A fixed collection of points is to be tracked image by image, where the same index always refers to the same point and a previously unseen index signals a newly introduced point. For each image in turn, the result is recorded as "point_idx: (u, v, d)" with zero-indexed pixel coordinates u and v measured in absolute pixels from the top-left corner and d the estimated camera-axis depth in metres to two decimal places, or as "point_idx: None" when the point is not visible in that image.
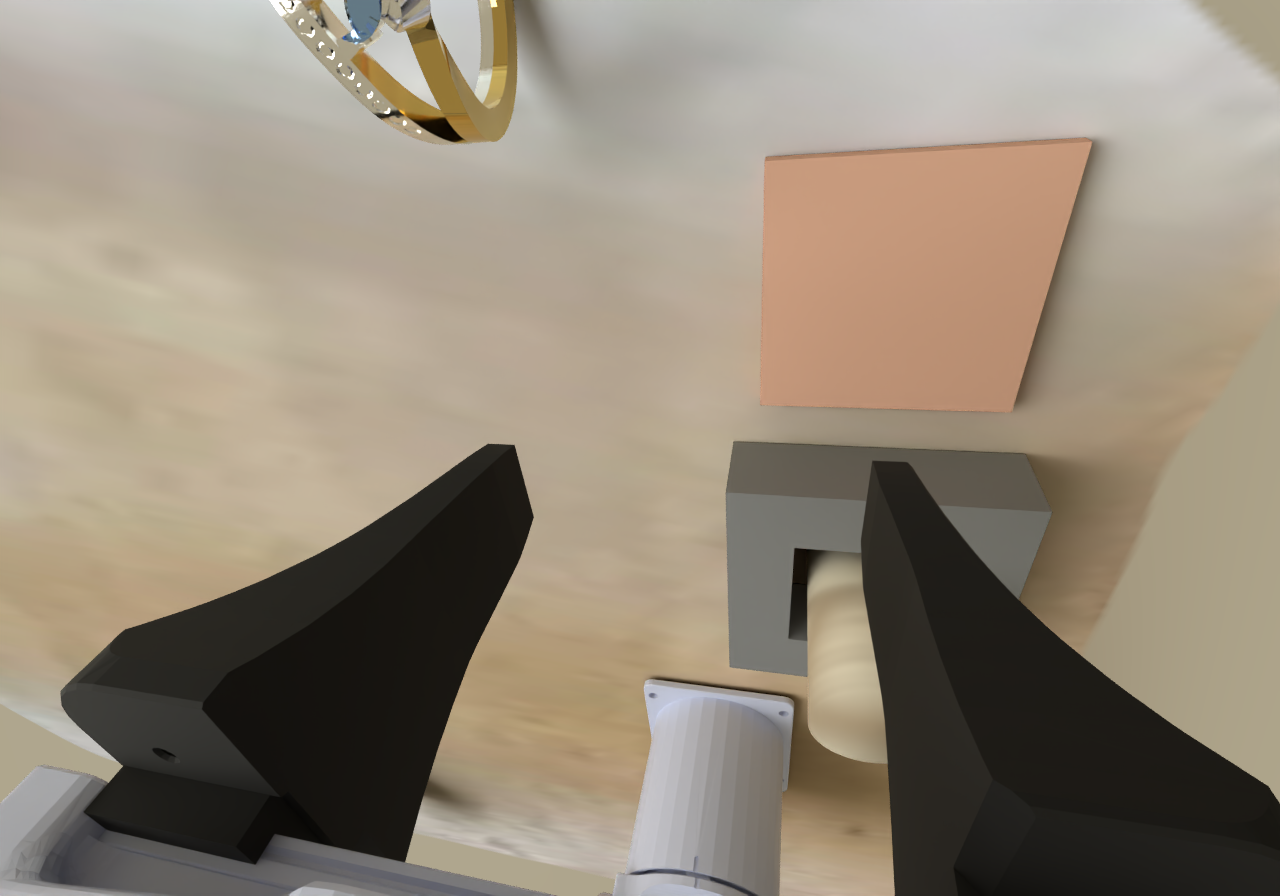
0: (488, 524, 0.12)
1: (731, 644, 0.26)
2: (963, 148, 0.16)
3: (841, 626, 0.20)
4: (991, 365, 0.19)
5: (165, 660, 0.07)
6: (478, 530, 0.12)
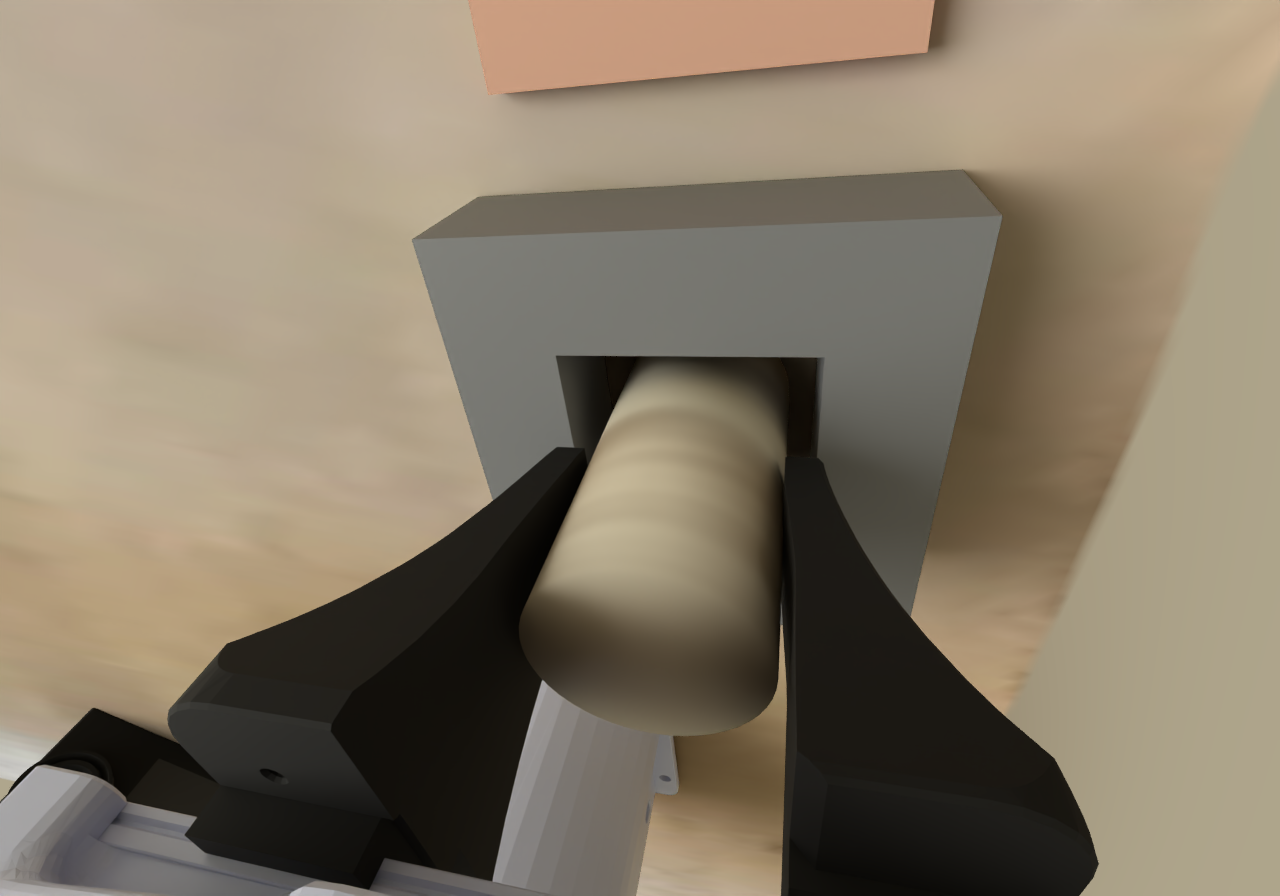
0: None
1: None
2: None
3: (604, 472, 0.11)
4: None
5: (281, 677, 0.07)
6: (554, 537, 0.11)
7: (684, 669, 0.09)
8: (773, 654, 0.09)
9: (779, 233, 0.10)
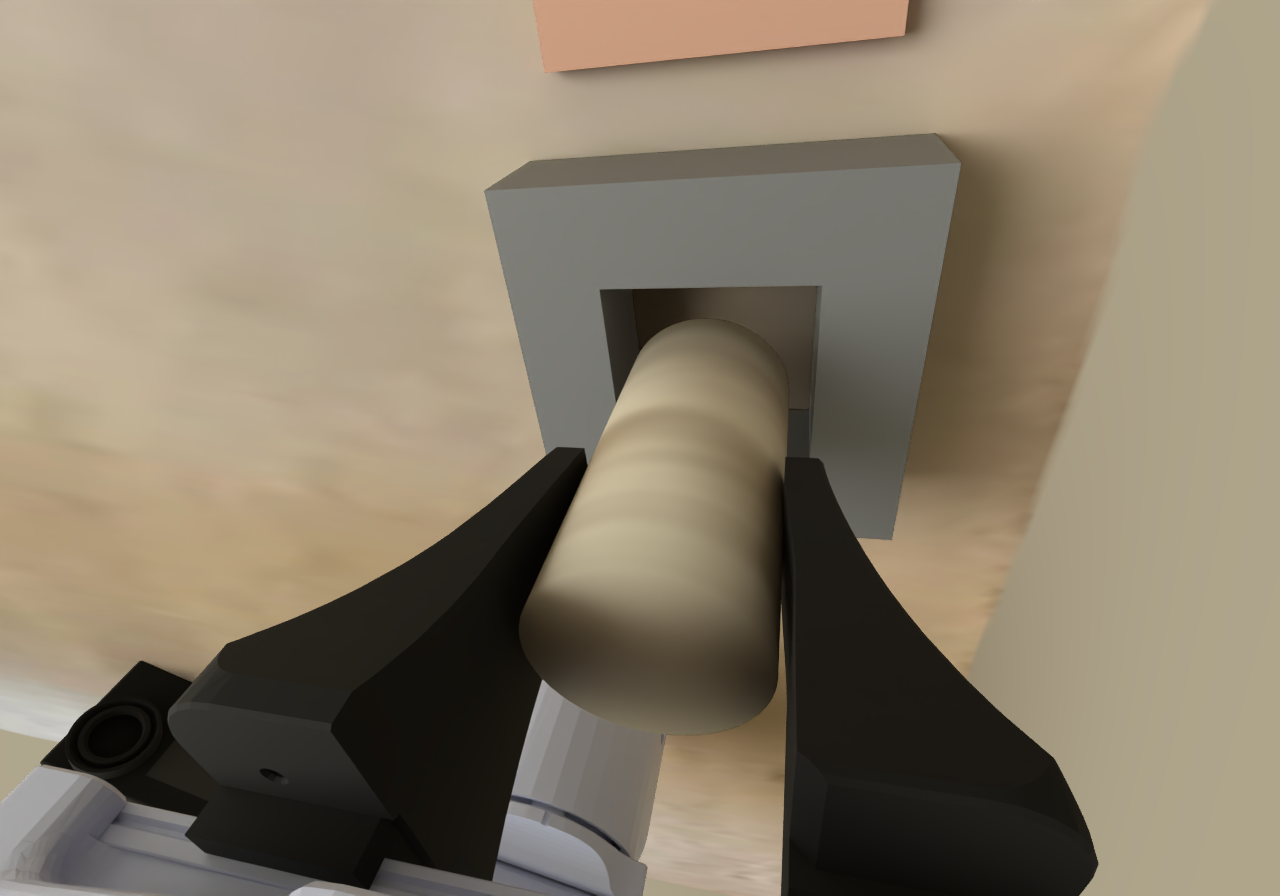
0: None
1: None
2: None
3: (604, 472, 0.11)
4: None
5: (281, 676, 0.07)
6: (554, 537, 0.11)
7: (684, 668, 0.09)
8: (773, 653, 0.09)
9: (786, 180, 0.13)
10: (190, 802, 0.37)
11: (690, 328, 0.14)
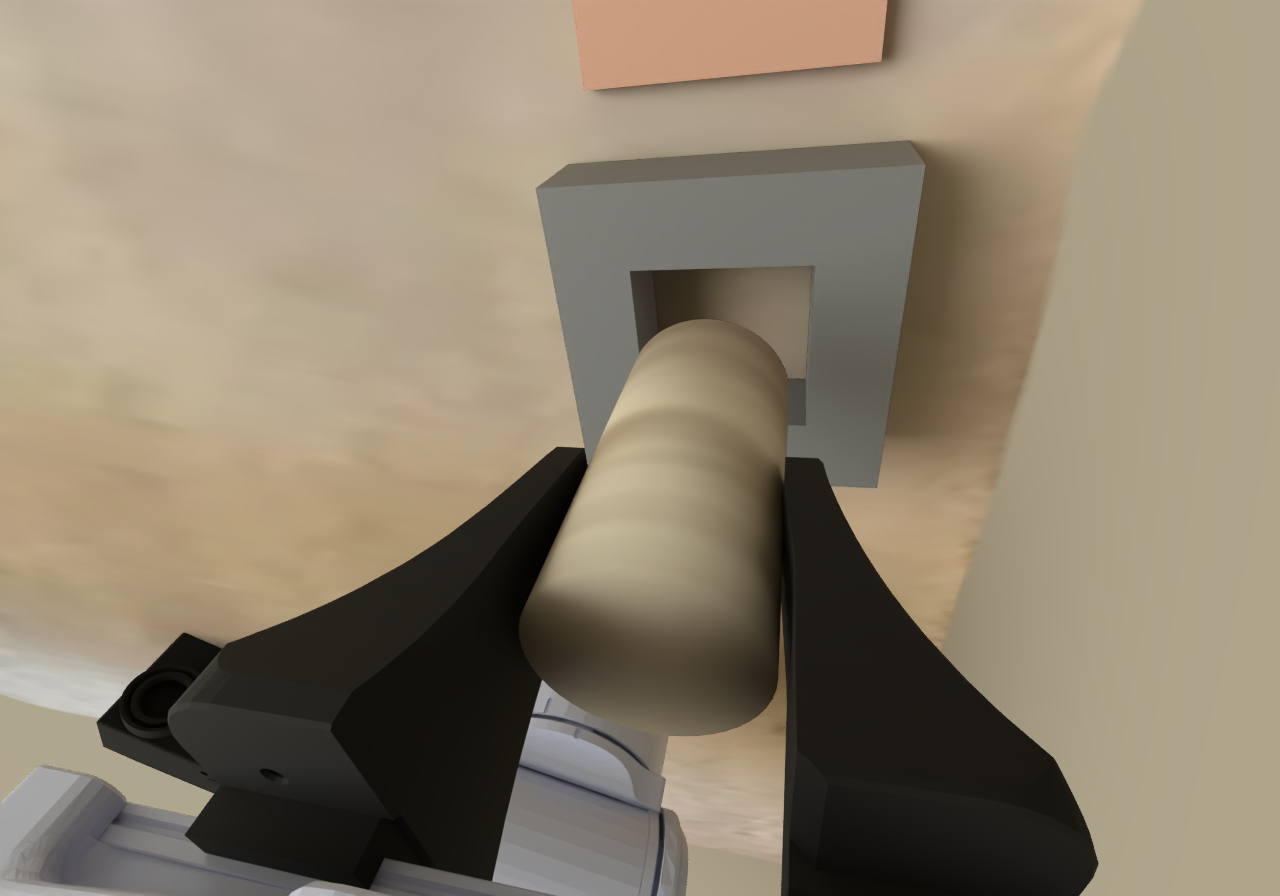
0: None
1: (585, 437, 0.22)
2: None
3: (604, 472, 0.11)
4: None
5: (281, 676, 0.07)
6: (554, 536, 0.11)
7: (684, 669, 0.09)
8: (773, 654, 0.09)
9: (785, 179, 0.16)
10: None
11: (690, 328, 0.14)
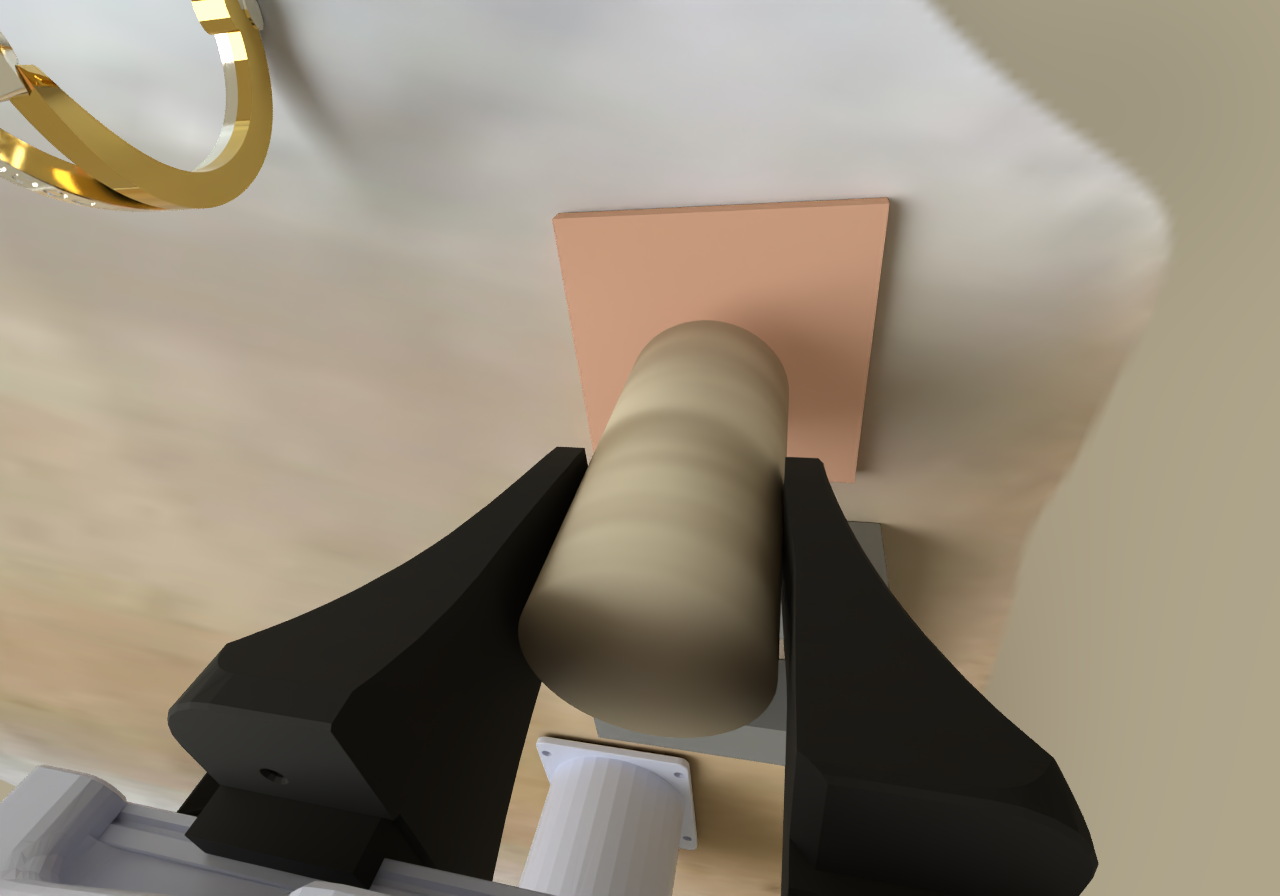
0: None
1: None
2: (756, 208, 0.15)
3: (603, 473, 0.11)
4: (825, 434, 0.18)
5: (280, 676, 0.07)
6: (555, 536, 0.11)
7: (683, 671, 0.09)
8: (773, 656, 0.09)
9: None
10: None
11: (690, 329, 0.14)
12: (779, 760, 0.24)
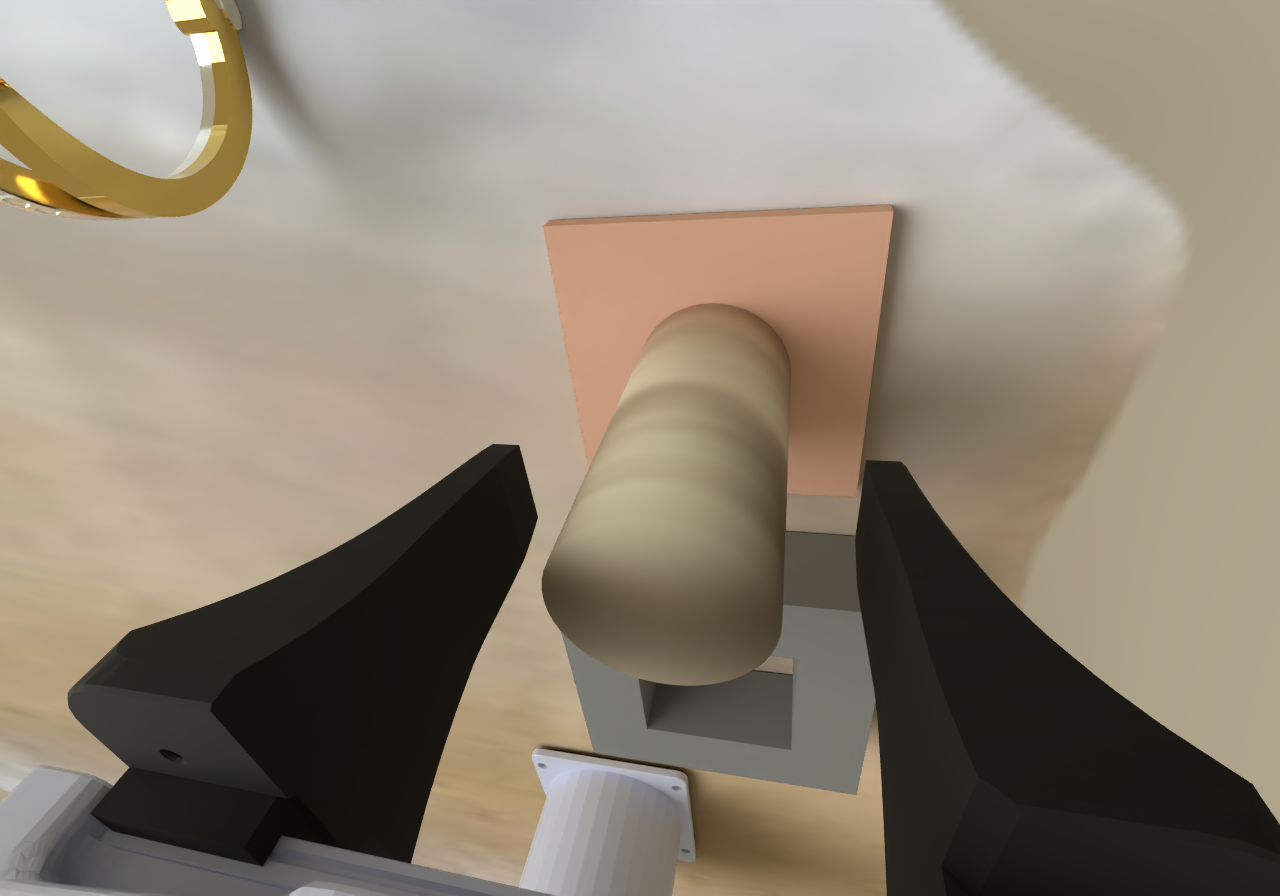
0: (493, 524, 0.12)
1: (590, 731, 0.24)
2: (755, 215, 0.14)
3: (619, 440, 0.11)
4: (826, 448, 0.17)
5: (172, 660, 0.07)
6: (483, 531, 0.12)
7: (695, 618, 0.10)
8: (778, 600, 0.09)
9: None
10: None
11: (698, 311, 0.15)
12: (779, 777, 0.23)
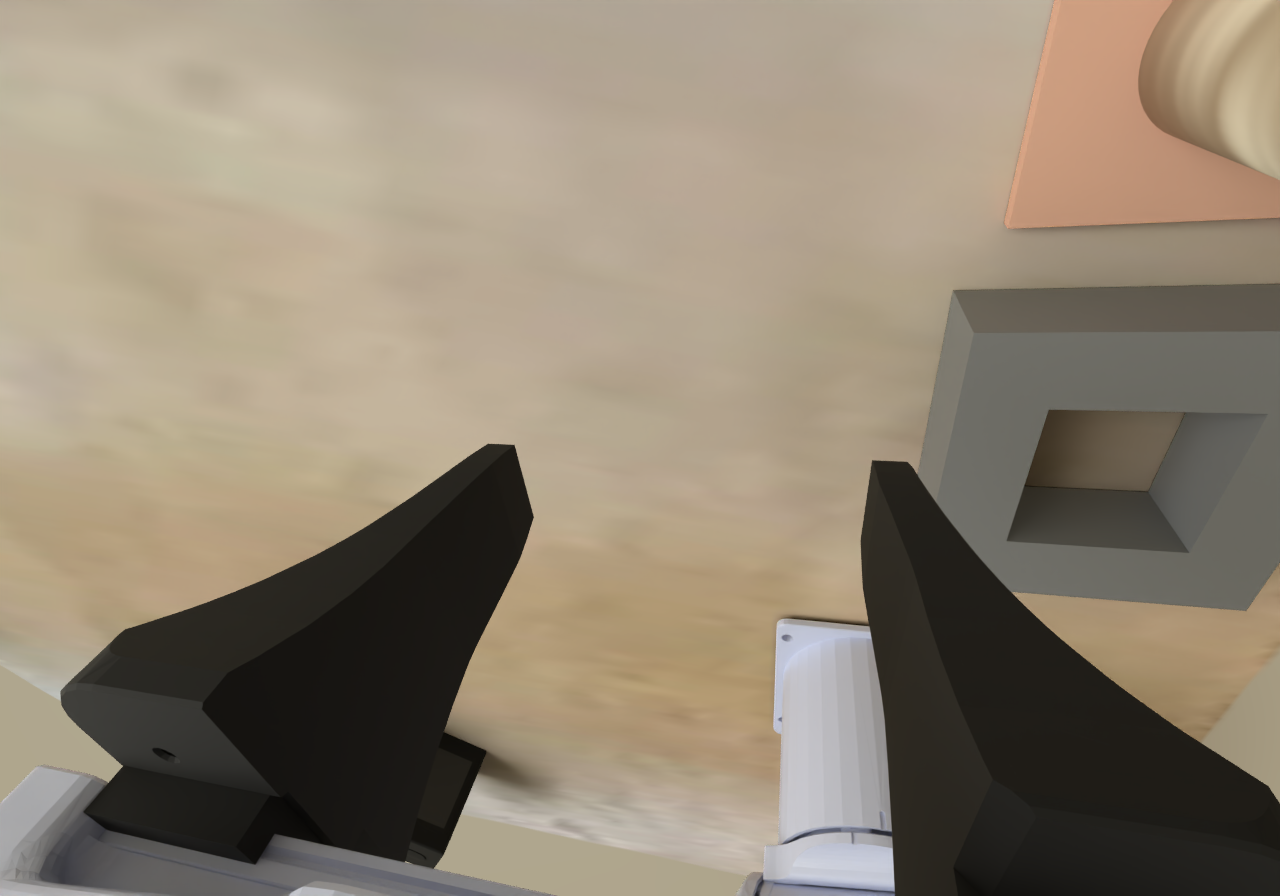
0: (488, 524, 0.12)
1: None
2: None
3: None
4: None
5: (165, 660, 0.07)
6: (478, 531, 0.12)
7: None
8: None
9: (1269, 336, 0.15)
10: (421, 827, 0.40)
11: None
12: (1152, 595, 0.21)
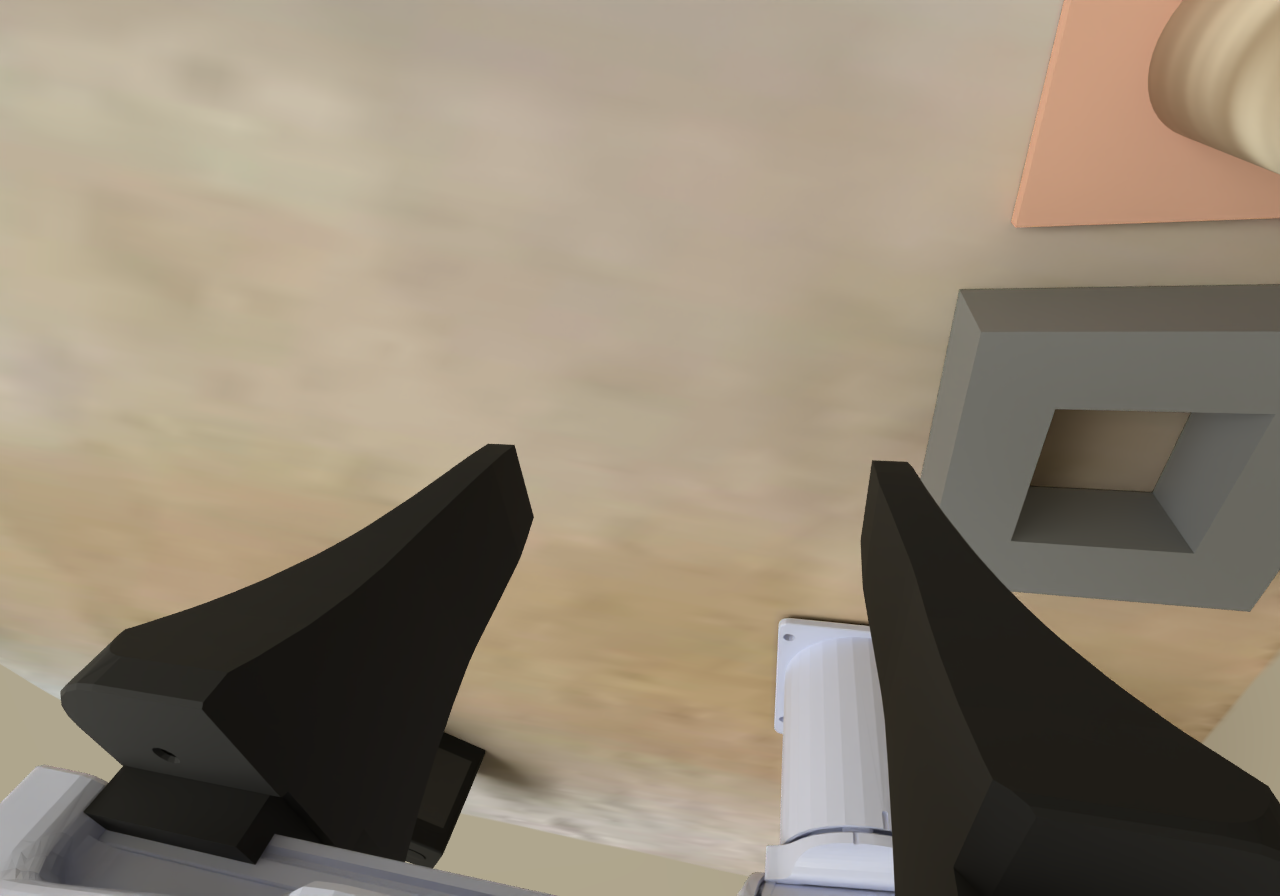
0: (488, 524, 0.12)
1: None
2: None
3: None
4: None
5: (165, 659, 0.07)
6: (478, 531, 0.12)
7: None
8: None
9: (1278, 336, 0.15)
10: (421, 827, 0.40)
11: None
12: (1156, 596, 0.21)
